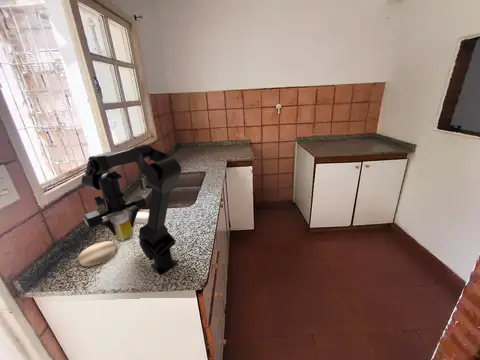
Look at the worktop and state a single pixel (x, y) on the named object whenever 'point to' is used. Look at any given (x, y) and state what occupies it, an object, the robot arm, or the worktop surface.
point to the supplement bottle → (122, 226)
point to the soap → (142, 217)
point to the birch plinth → (97, 253)
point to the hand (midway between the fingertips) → (123, 231)
